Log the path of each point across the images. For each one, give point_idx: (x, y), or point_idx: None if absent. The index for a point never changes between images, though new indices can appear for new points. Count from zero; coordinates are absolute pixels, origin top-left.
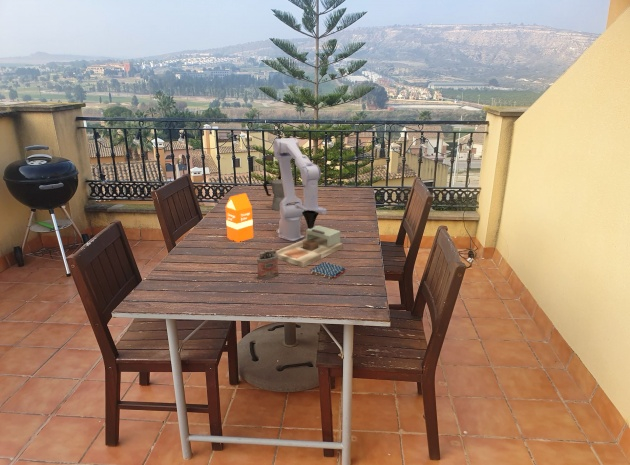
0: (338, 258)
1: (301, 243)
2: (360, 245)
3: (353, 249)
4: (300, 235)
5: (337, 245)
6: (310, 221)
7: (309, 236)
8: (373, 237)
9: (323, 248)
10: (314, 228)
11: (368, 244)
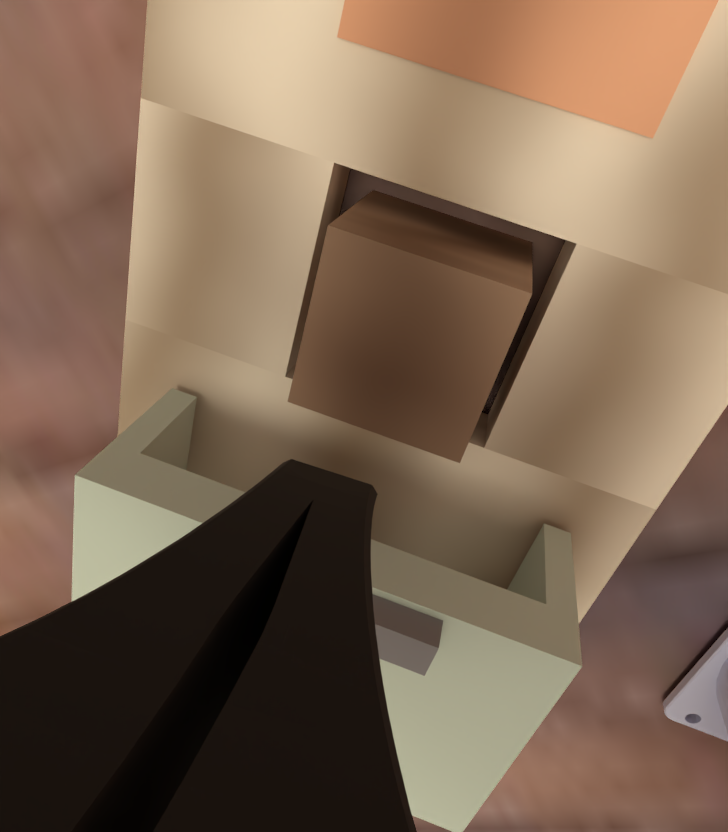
0: (10, 205)
1: (608, 423)
2: (45, 592)
3: (38, 496)
4: (723, 721)
5: None
6: (116, 586)
7: (523, 595)
8: None
9: (221, 333)
10: (454, 733)
11: (7, 621)
